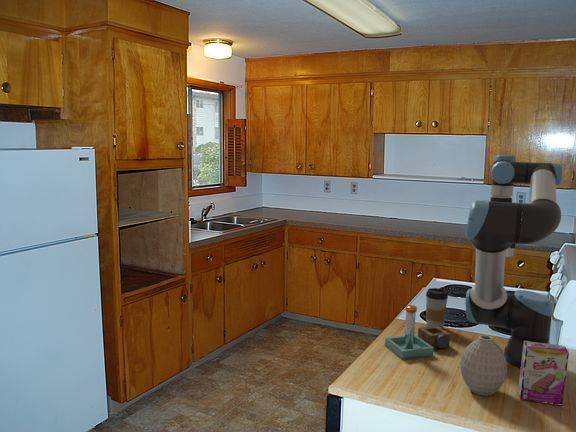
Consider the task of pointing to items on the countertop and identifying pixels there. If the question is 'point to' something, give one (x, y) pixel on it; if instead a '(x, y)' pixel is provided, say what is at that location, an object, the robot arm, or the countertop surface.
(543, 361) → the candy bar box
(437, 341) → the tensioner block
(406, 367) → the countertop surface
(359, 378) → the countertop surface
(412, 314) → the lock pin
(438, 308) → the coffee cup
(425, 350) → the tray
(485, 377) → the vase
